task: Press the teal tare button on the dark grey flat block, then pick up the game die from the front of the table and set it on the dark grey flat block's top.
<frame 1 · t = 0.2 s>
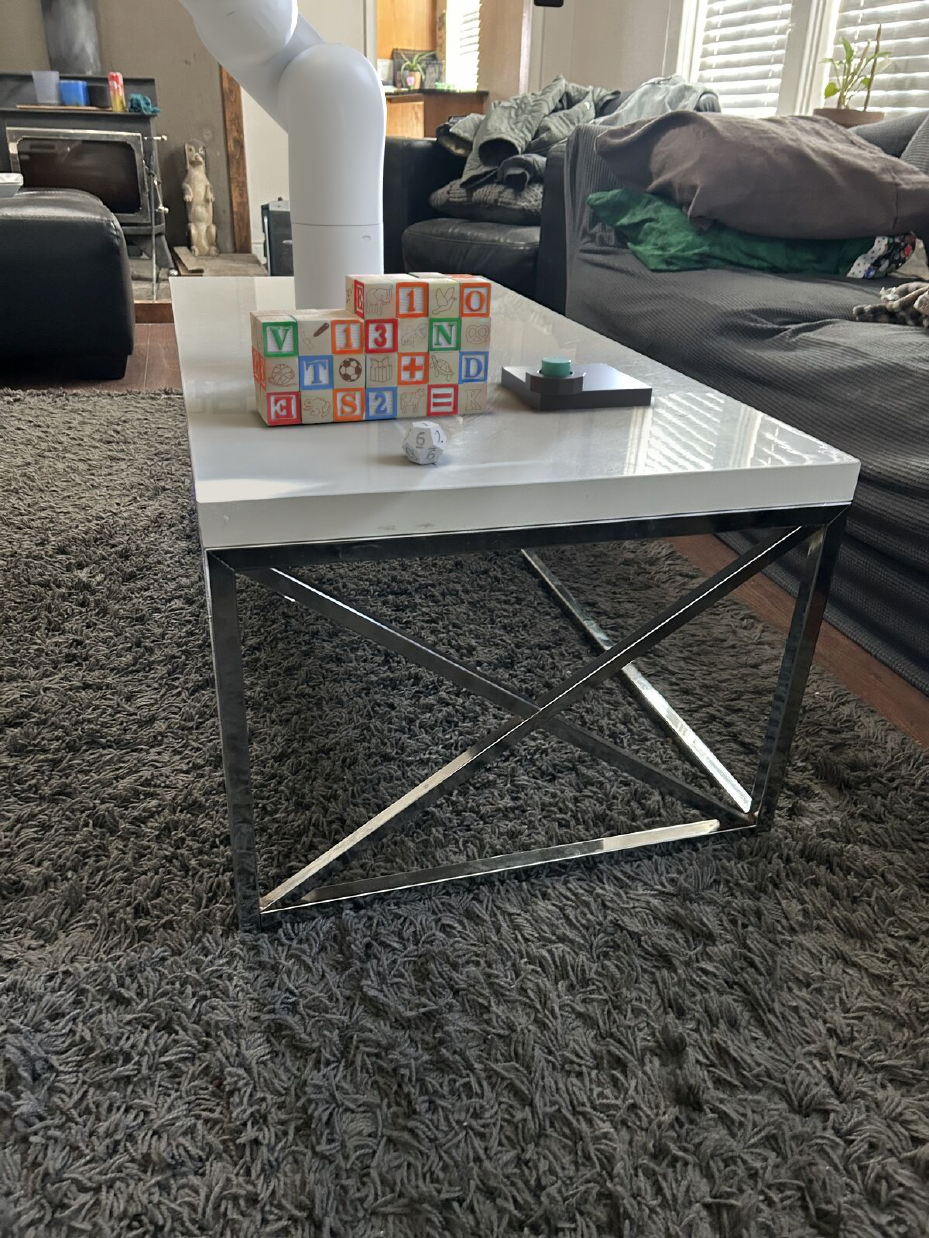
hand: (566, 1, 96), 36 cm above the table, tool pointing down, fingers open, 9 cm apart
stack of blocks: (372, 414, 92), on the table
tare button: (555, 368, 94), point 4 cm above the table, slide at 0.1 cm
game die: (424, 462, 78), on the table
dark grey flat block: (573, 395, 100), on the table
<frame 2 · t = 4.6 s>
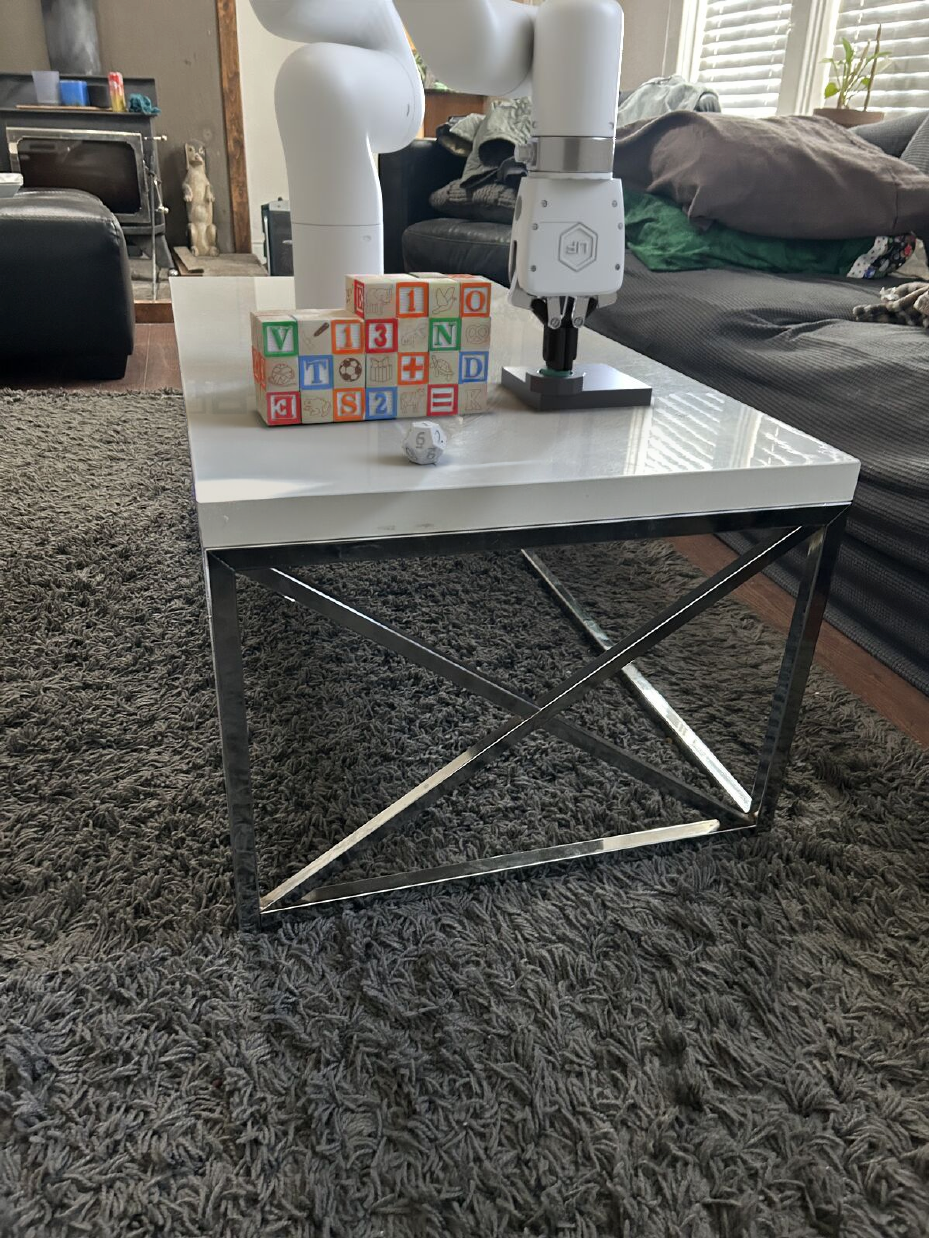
hand: (558, 368, 93), 4 cm above the table, tool pointing down, fingers closed
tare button: (555, 376, 94), point 3 cm above the table, slide at -0.6 cm, touching gripper
everything else where it was.
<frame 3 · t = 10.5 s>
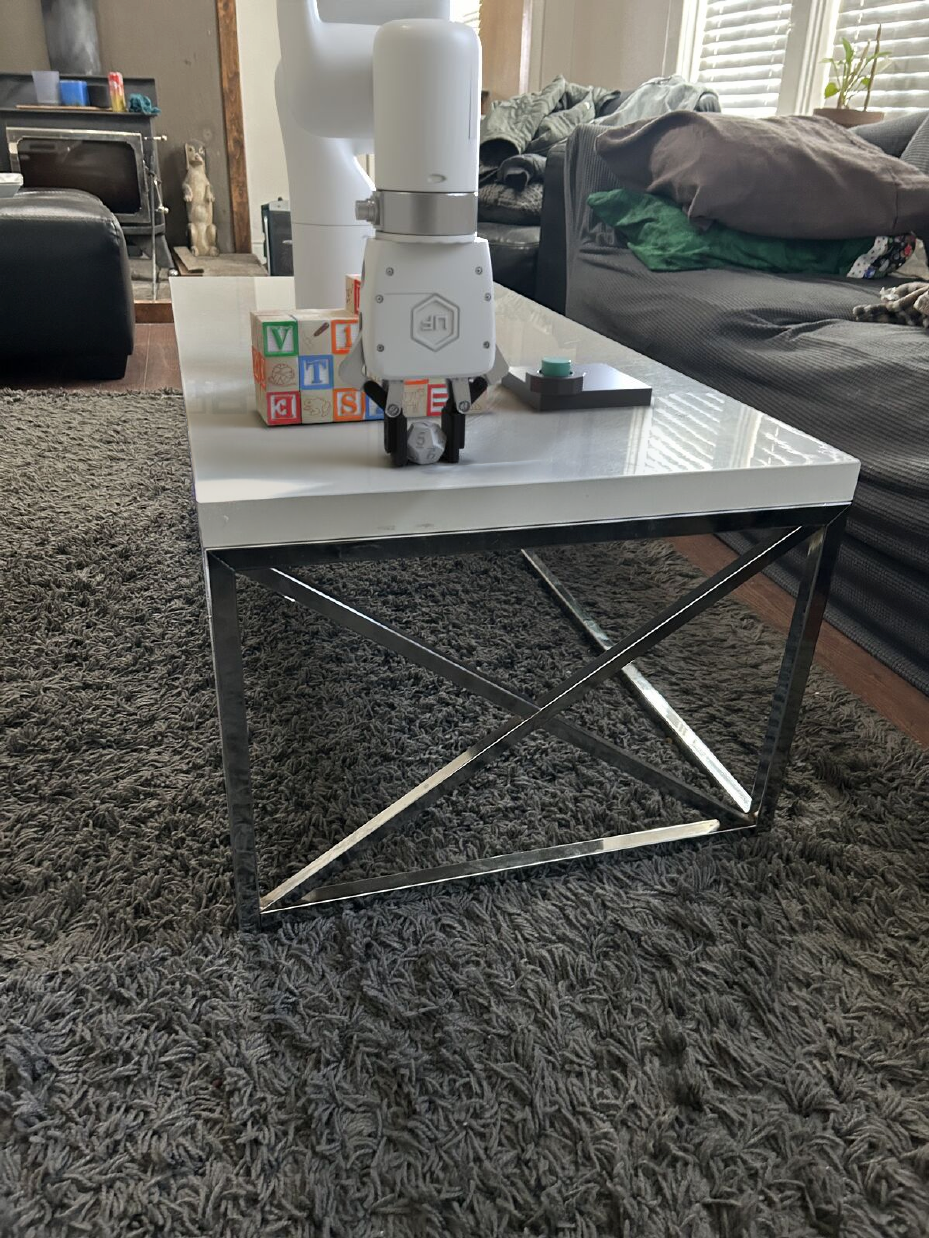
hand: (424, 457, 78), 0 cm above the table, tool pointing down, fingers closed on game die, 3 cm apart
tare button: (555, 368, 94), point 4 cm above the table, slide at 0.1 cm
game die: (424, 462, 78), on the table, touching gripper
everything else where it was.
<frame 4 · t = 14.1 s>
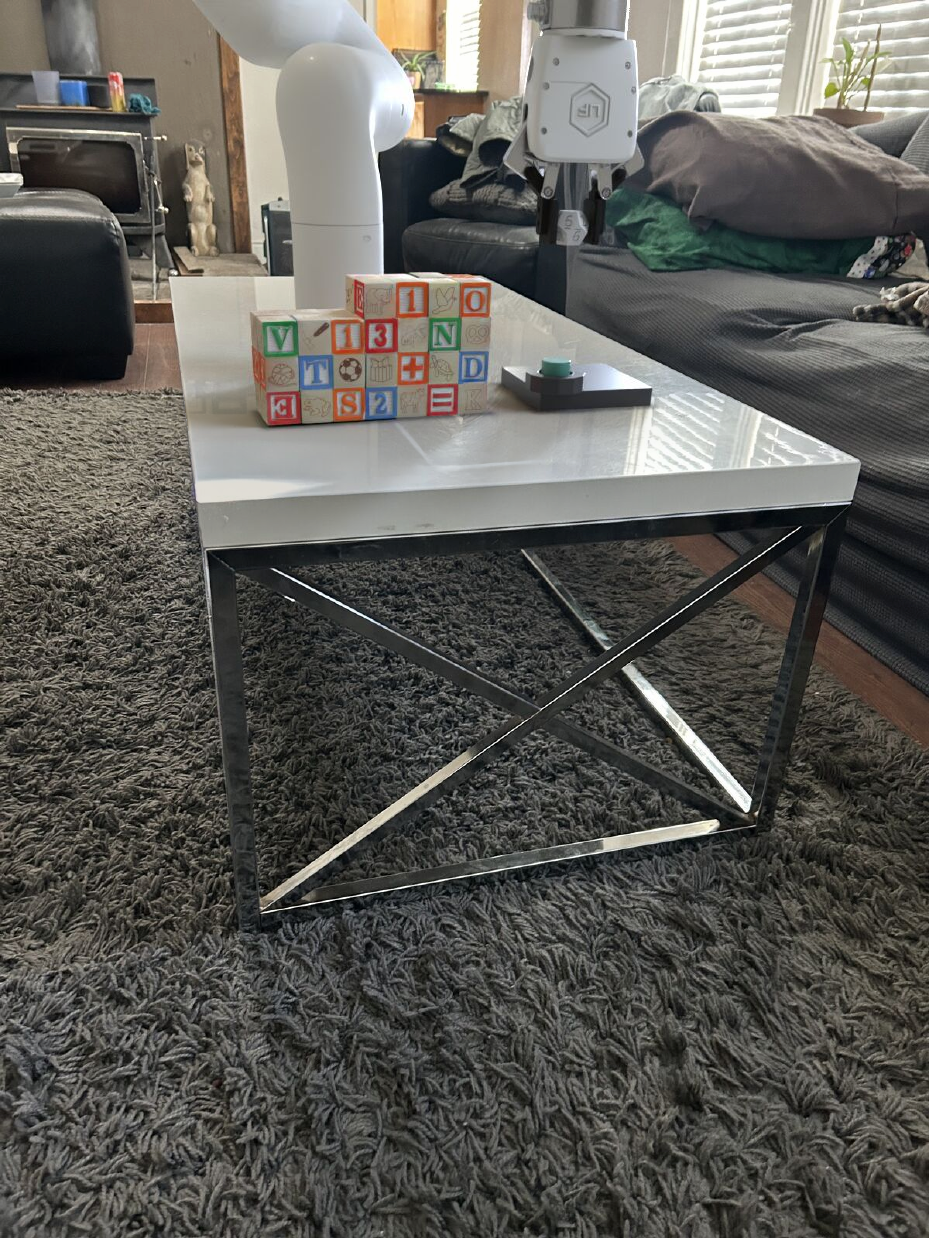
hand: (568, 241, 92), 15 cm above the table, tool pointing down, fingers closed on game die, 3 cm apart
game die: (568, 246, 92), point 15 cm above the table, touching gripper
everything else where it was.
when the fingers open (2 cm above the table, at t = 18.1 s): game die stays where it is, resting on dark grey flat block.
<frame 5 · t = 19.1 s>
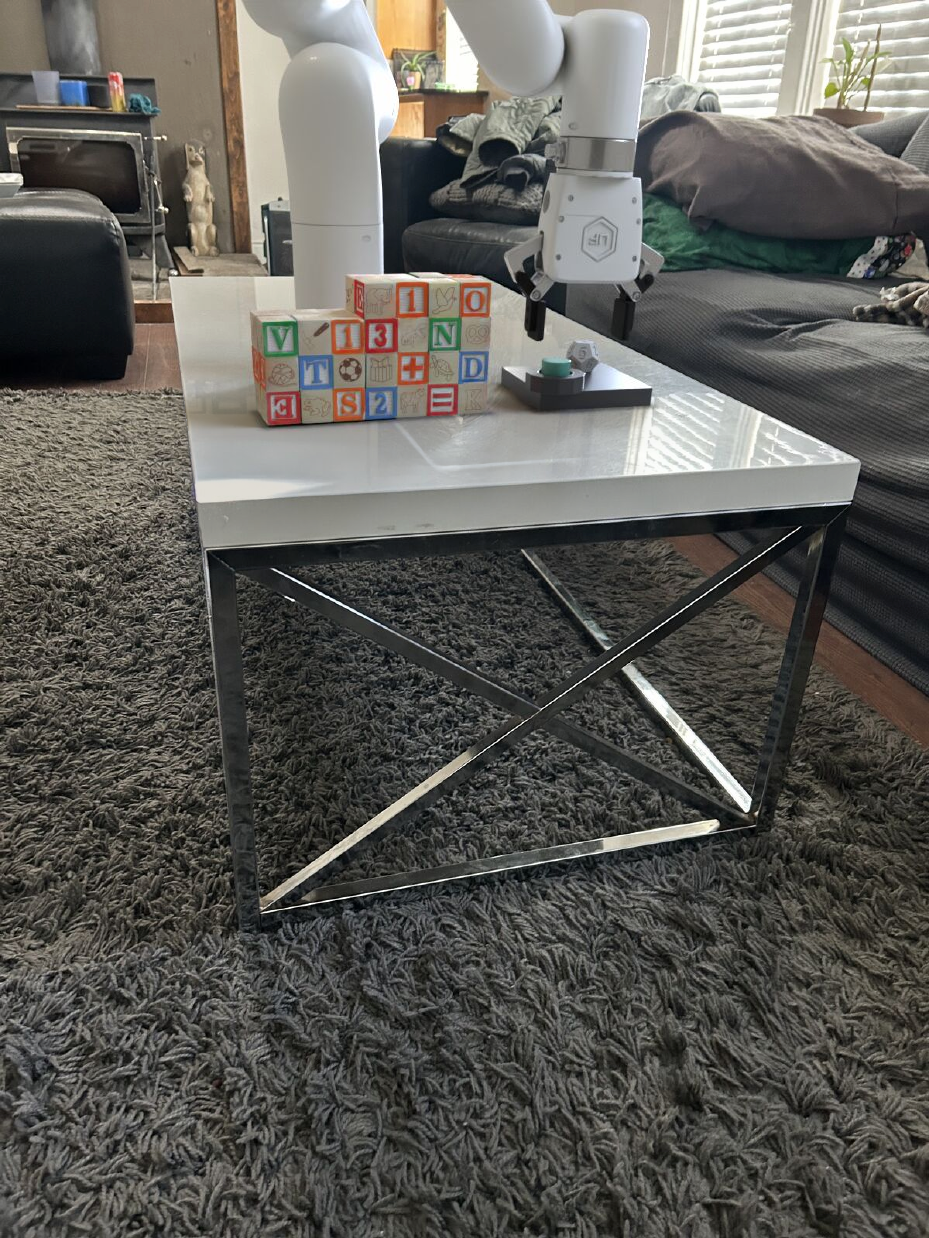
hand: (577, 338, 101), 5 cm above the table, tool pointing down, fingers open, 9 cm apart
game die: (581, 372, 102), point 2 cm above the table, touching dark grey flat block
everything else where it was.
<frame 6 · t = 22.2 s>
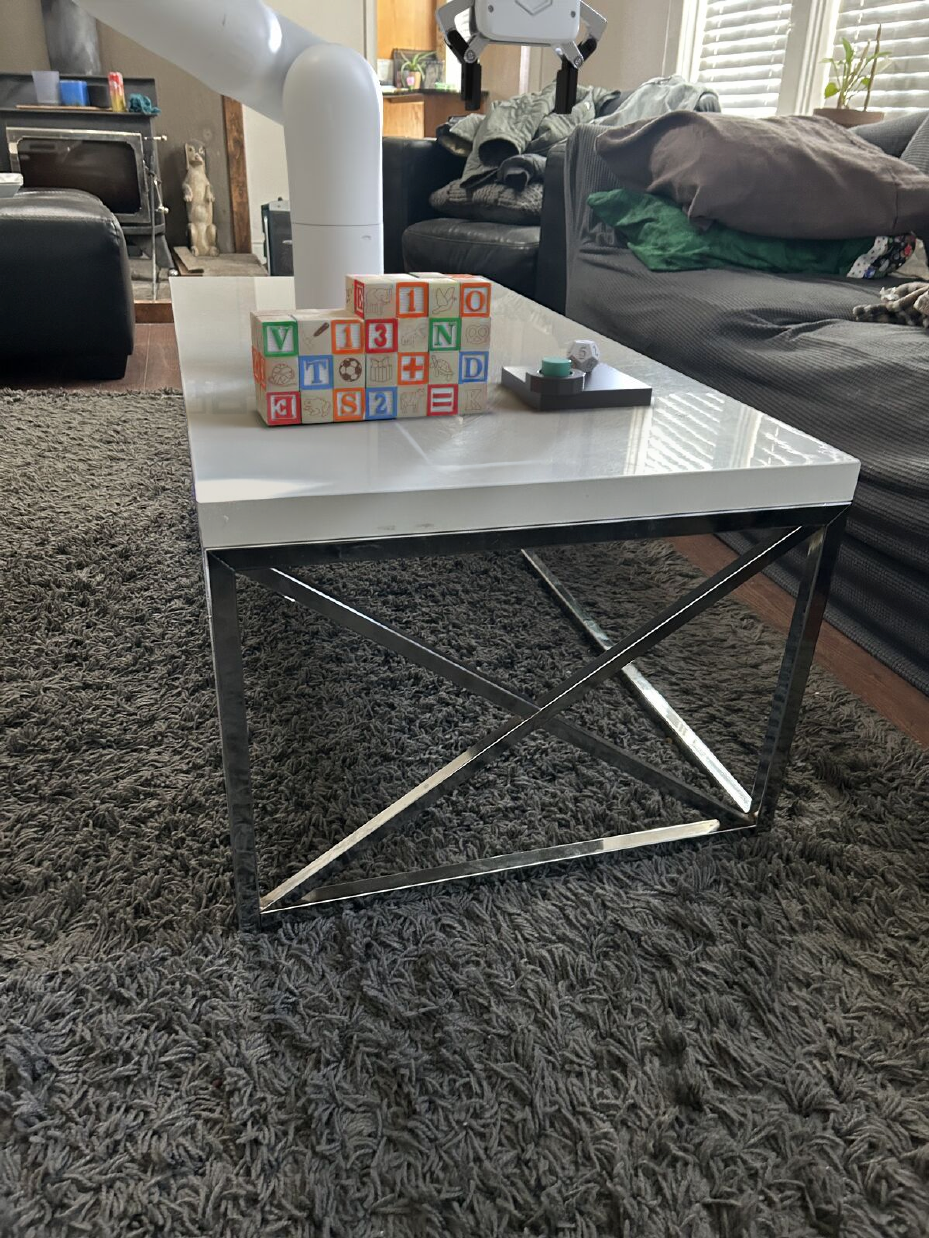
hand: (518, 112, 96), 26 cm above the table, tool pointing down, fingers open, 9 cm apart
nothing on the table moved.
at the end: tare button pushed in 0.9 cm at the most during the clip, back to where it started at the end; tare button slide at 0.1 cm; game die inside the target area on the dark grey flat block (3.6 cm from its centre), point 1.7 cm above the dark grey flat block's base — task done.
